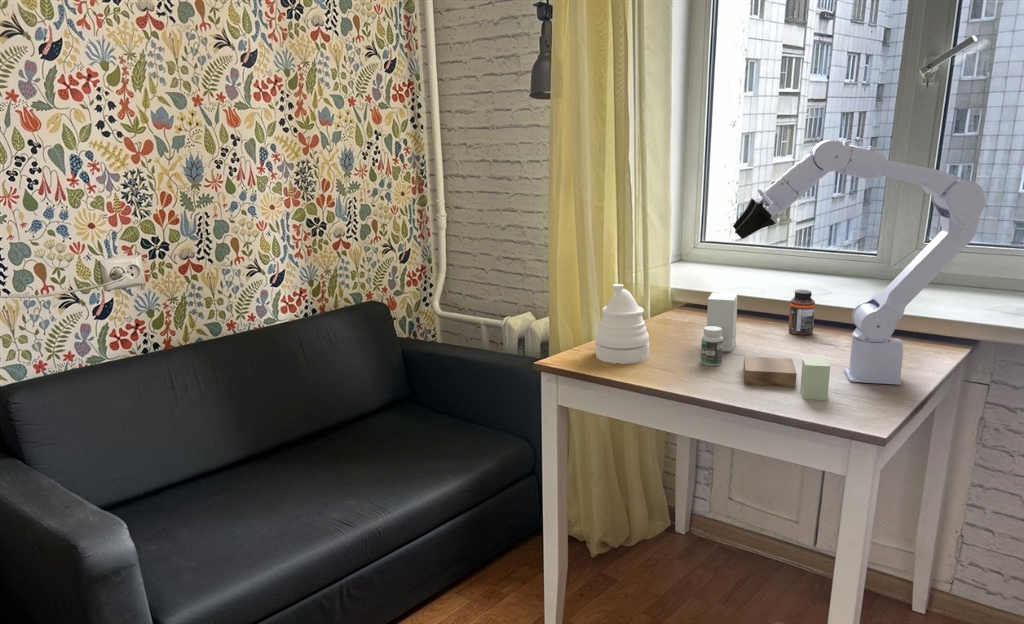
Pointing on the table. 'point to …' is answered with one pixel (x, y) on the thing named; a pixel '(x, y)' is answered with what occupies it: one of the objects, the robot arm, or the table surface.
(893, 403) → the table surface
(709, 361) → the pill bottle
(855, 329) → the robot arm
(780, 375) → the walnut base
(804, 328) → the supplement bottle
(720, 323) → the small box
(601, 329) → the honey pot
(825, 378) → the sage block
